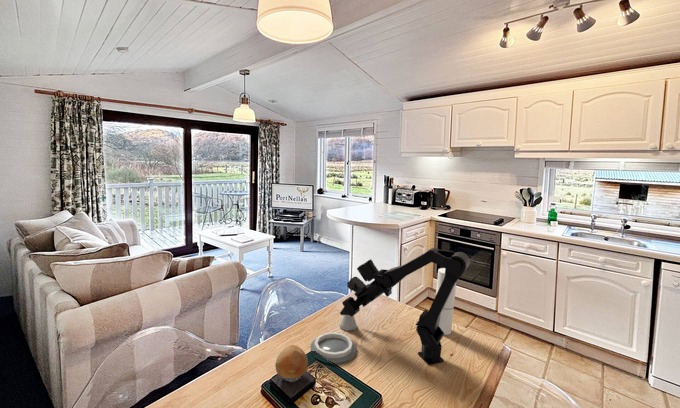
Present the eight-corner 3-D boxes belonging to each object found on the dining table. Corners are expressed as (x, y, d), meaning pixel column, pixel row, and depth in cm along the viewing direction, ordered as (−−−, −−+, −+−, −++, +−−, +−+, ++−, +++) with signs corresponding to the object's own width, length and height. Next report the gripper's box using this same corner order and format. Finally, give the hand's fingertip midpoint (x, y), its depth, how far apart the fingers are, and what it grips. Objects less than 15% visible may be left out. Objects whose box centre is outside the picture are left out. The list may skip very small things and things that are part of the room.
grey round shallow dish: (363, 359, 105) (363, 352, 105) (317, 368, 99) (318, 360, 99) (345, 334, 120) (346, 327, 119) (305, 340, 114) (305, 333, 114)
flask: (336, 323, 127) (337, 300, 126) (352, 320, 130) (353, 298, 129) (344, 332, 121) (345, 308, 119) (360, 329, 124) (361, 305, 122)
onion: (269, 375, 95) (269, 345, 94) (297, 363, 101) (298, 335, 100) (284, 395, 87) (285, 362, 86) (313, 380, 94) (314, 350, 92)
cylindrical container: (448, 326, 129) (454, 268, 126) (453, 335, 122) (459, 275, 119) (431, 324, 130) (436, 267, 126) (434, 334, 123) (440, 273, 119)
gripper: (371, 266, 128) (347, 285, 135) (348, 280, 112) (322, 300, 120) (388, 289, 125) (362, 307, 132) (366, 306, 109) (338, 325, 116)
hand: (346, 309), depth 125 cm, fingers open, 9 cm apart
